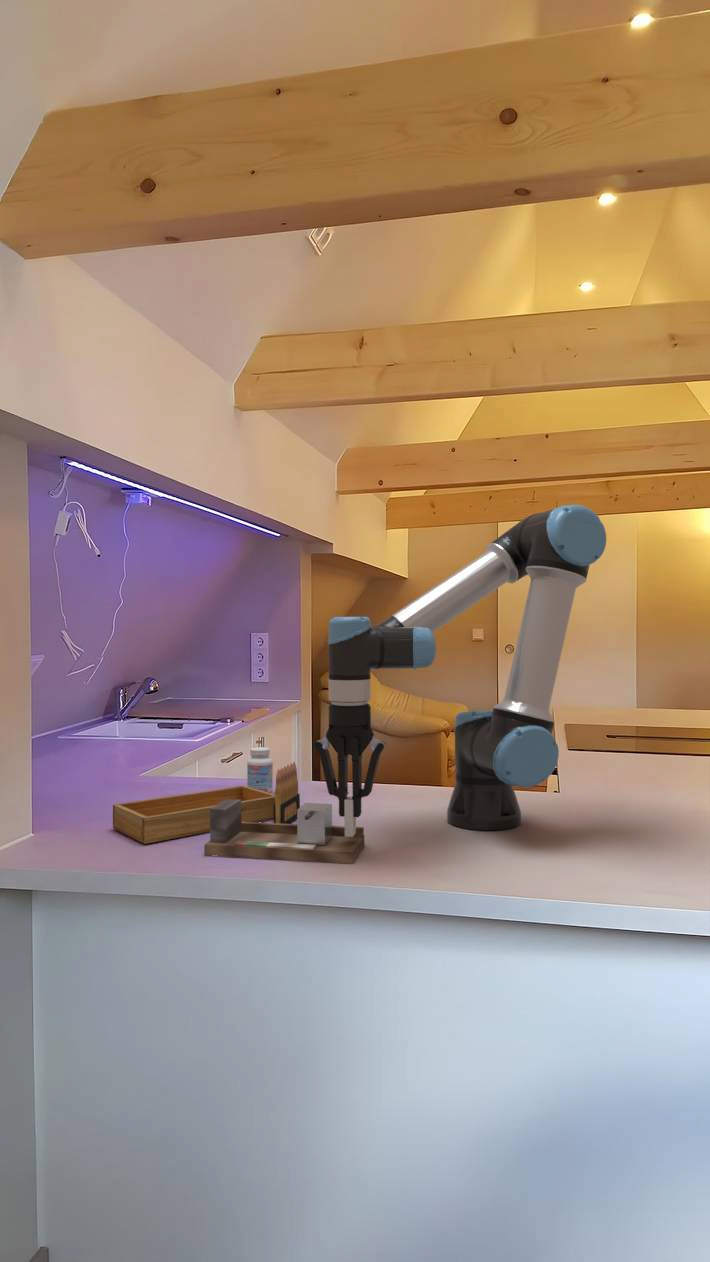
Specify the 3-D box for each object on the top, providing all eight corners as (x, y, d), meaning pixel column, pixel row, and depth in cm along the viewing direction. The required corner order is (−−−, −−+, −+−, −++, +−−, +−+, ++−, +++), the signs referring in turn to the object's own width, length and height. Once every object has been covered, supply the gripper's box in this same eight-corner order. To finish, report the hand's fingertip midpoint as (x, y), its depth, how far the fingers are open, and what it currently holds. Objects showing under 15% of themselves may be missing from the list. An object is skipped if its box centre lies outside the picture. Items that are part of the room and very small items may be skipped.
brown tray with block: (364, 845, 144) (364, 802, 144) (352, 863, 133) (351, 817, 133) (227, 838, 150) (226, 797, 149) (204, 855, 139) (204, 810, 139)
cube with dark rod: (332, 836, 142) (331, 803, 142) (320, 849, 134) (320, 815, 134) (305, 835, 144) (305, 802, 143) (292, 848, 135) (292, 814, 135)
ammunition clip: (281, 830, 156) (281, 770, 156) (273, 829, 156) (272, 769, 156) (300, 817, 166) (299, 761, 166) (292, 816, 167) (291, 760, 166)
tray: (243, 808, 176) (243, 783, 176) (281, 820, 165) (280, 794, 165) (112, 832, 157) (112, 804, 157) (144, 848, 145) (144, 818, 145)
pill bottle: (244, 797, 185) (243, 750, 185) (251, 792, 191) (251, 746, 191) (268, 798, 184) (268, 750, 184) (275, 792, 190) (275, 746, 190)
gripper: (389, 701, 141) (389, 830, 141) (319, 700, 144) (320, 827, 144) (382, 705, 134) (382, 842, 134) (308, 704, 136) (309, 838, 136)
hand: (350, 834), depth 139 cm, fingers closed
